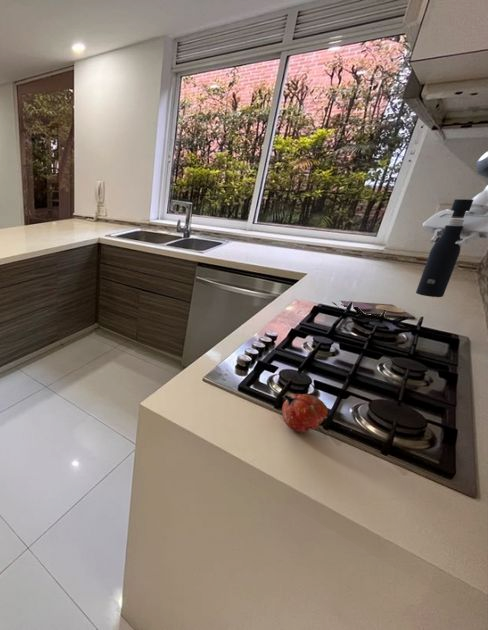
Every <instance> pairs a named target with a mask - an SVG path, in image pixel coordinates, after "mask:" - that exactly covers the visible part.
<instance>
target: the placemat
mask: <svg viewBox="0 0 488 630" xmlns="http://www.w3.org/2000/svg"><path fill="white" fill-rule="evenodd" d="M340 301H341V302H345V301H346V300H340ZM359 302H360V303H364V304H368V305H370V306H372V310H370V311H363V312H364V313H366V314H371V315H376V316H375V317H381V316H380V315H381V313H382V312H383V311H384V310H386V313H385V317H384V318H397V319H400V318H399V317H402V316H407V317H408V320H409V319H410V320H415V319H416V316H414V315H413V314H410V313H409V312H407V311H406V310H405V309H404V308H402V307H398V306H396V305H395V304H393V303H377V302H365V301H364V302H362V301H359Z"/></svg>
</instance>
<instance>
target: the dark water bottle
mask: <svg viewBox="0 0 488 630" xmlns="http://www.w3.org/2000/svg"><path fill="white" fill-rule="evenodd" d="M472 203H473V200H471V199H469V198H468V199H464V198H463V199H462V198H461V199H460V198H459V199H454V201H453V203H452V205H451V208H450V209H451V211H454V212H453V215H452V216H451V217H452V218H464V215H465V212H466V211H470V208H471V205H472ZM463 222H464V220H461V219H450V220H449V221H448V223H447V224H448V225H446V226H445V229H444V231H443V234H442V235H441V236H440V238H439V239H438V240H437V241H436V243H433V246H432V247H431V249H430V251H429V254H428V256H427V260H426V262H425V265H424V268H423V271H422V274H421V277H420V279H419V283H418V285H417V288H416V290H415V293H416V295H417V294H418V295H420V296H424V297H430V298H442V297H444V296H445V293H446V290H447V287H448V285H449V282H450V279H451V277H452V275H453V271H454V269H455V266H456V264H457V261H458V258H459V256H460V254H461V249H462V247H459V246H456V244H455V242H456V241H458V240H459V239H461V236H460V234H461V231H462V228H463V226H462V224H463Z"/></svg>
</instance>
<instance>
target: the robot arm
mask: <svg viewBox="0 0 488 630" xmlns="http://www.w3.org/2000/svg"><path fill="white" fill-rule="evenodd" d="M476 174H478V175H480V176H482V177H484V178H486V179H488V150H487V151H486V152H484V153H483V154H482V155H481V156H480V158H478V160H476ZM470 200H473V203H472V205H471V208H470V211H466V212H465V215H464V218H452V217H451V216H452V215H453V212H454V211H451V208H446V209H443V210H439V211H438V212H436V213H435V214H433V215H431V216H430V217H429V218H427V219H426V220H425V221H424V222H423V223H422V228H423V231H424V232H425V233H428V234H433V236H432V237H431V238H430V240H429V241H430V243H431V244H435V243H436V241H437V240H438V239H439V238H440V237H441V235H442V234H443V231H444V229H445V226H446V225H448V224H447V223H448V221H449V220H450V219H461V220H464V222H463V224H462V226H463V228H462V231H461V234H460V237H464V238H460V239H459V240H458V241H456V242H455V244H456V246H459V247H461V248H463V247H465V246H466V245H467V244H470V243H472V242H475V241H478V239H484V240H488V184H487V185H486V186H485V187H484V189H483V190H482V191H481V192H479V193H478V194H476V195H475V196H474V197H472V198H471V199H470Z"/></svg>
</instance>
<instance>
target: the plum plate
mask: <svg viewBox="0 0 488 630" xmlns="http://www.w3.org/2000/svg"><path fill="white" fill-rule="evenodd" d="M344 301H345V302H342V304H341V305H342V306H344V307H347V306H348V304H349V303H350V302H353V307H354V306H356V307H358V308H360V309H361V310H362V311H370V310H372V306H370V305H368V304H364V303H365V302H364V303H360V302H361V301H352V300H351V301H350V300H349V301H348V300H347V301H346V300H344Z"/></svg>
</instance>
